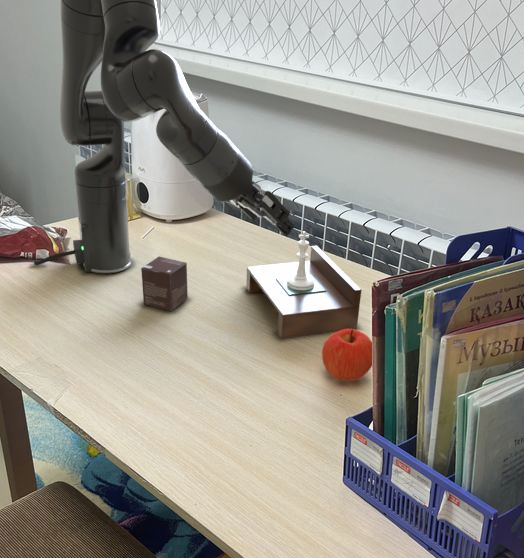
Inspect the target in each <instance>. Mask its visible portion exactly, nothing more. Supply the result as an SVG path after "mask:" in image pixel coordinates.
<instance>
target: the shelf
mask: <svg viewBox="0 0 524 558" xmlns="http://www.w3.org/2000/svg"><path fill="white" fill-rule="evenodd" d="M298 265H299V261H293V262H292V261H291V262H282V263H272V264H261V265H251V266H246V284H245V285H246V286H245V288H246V290H247V291H248V293H260V292H263V293H264V295H265V297H266V298H267V299H268V301H270V303H271V305H273V307H274V308H275V310H276V311H277V312H278V317H277V319H278V321H277V334H278V335H279V337H280V339H288V338H295V337H302V336H310V335H318V334H325V333H335V332H338V331H340V330H343V329H355V330H358V321H359V313H360V305H361V297H362V289H361V288H360V287H359V286H358V285H357V283H355V282H354V280H352V279H351V278H350V277H349V276H348V275H347V274H346V272H344V271H343V270H342V269H341V267H339V266H338V265H337V264H336V263H335V262H334V261H333V260H332V259H331V258H330V257H329V256H328V255H327V254H326V253H325V252H324V251H323V250H322V249H321V248H320V247H319V246H318V245H310V255H309V260H305V270H306V275H307V276H308V277H310V278H312V279H313V280H314V287H313V288H311V289H309V290H295V289H292V288H290V287H288V286H287V280H288V278H289V277H291V276H295V274H297V269H298Z"/></svg>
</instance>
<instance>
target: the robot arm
mask: <svg viewBox="0 0 524 558" xmlns="http://www.w3.org/2000/svg"><path fill="white" fill-rule="evenodd" d="M60 23H61V27H60V28H61V45H62V46H61V47H62V72H61V73H62V74H61V85H60V86H61V89H60V91H61V92H60V104H59V105H60V106H59V111H60V112H59V116H60V118H59V119H60V128H61V132H62V135H63V137H64V140H65V141H66V142H67V143H68V145H69V144H70V145H71V146H77V147H87V146H88V147H89V146H101V145H102V147H101V149H99V150H98V152H97V153H95V154H94V155H92V156H90V157H88V158H86V159H84V160H82V161H80V162H78V163H77V164H76V165H75V168H74V179H75V190H76V199H77V208H78V209H77V210H78V217H77V219H78V228H79V229H78V230H79V237H80V239H74V240H72V242H73V250H69V251H64V252H63V251H62V252H58V253H55V254H52V255H49V256H47V257H45V258H43V259H40V260H34V261H33V265H34V266H39V265H43V264H45V263H47V262H49V261H52V260H53V259H58V258H63V257H66V256H72V255H74V258H75V261H76V262H75V263H76V264H77V265H78V264H82V265H83V268H84V271H85V273H95V274H115V273H120V272H123V271H125V270H127V269H128V268H130V267H131V266H132V259H131V247H130V246H131V245H130V231H129V215H128V213H129V212H128V201H127V199H128V198H127V183H126V182H127V181H126V156H125V123H132V122H137V121H140V120H142V119H144V118H146V117H148V116H151V115H153V114H155V113H158V112H160V111H162V110H165V111H164V112H163V113H162V114H161V115H160V116H159V119H158V121H157V123H156V126H155V127H156V128H155V132H156V136H157V138H158V140H159V141H160V143H161V144H162V146H164V147H165V148H166V149H167V150H168V152H170V153H171V155H172V156H174V157H175V158H176V160H178V161H179V162H180V163H181V164H182V166H183V167H184V169H185V170H186V171H187V172H188V174H190V175H191V177H192V178H194V179H195V180H196V181H197V182H198V183H199V184H200V185H201V186H202V187H203V189H205V190H206V191H207V192H208V193H209V194H210V196H212V197H213V198H214V199H215V200H217V201H218V202H228V203H230V204H232V205H234V207H236V208H239V209H240V210H241V211H242V212H243V213H244V214H245V215H246V216H247V217H248V218H249V219H250V220H252V221H254V220H257V218H261V219H262V218H265V219H266V220H267V221H268V222H270V224H272V225H273V226H274V227H275V228H276V229H277V230H278V231H279V232H280V233H281V234H282V235H283V236H286V237H287V236H289V235H290V233H291V232H292V230H293V229H294V228H295V227H294V226H295V224H294V223H293V222H292V221H291V219H289V217H290V215H291V213H290V211H289V210H288V209H287V208H286V207H285V206H284V204H282V203H281V201H279V200H278V198H277V197H276V196H275V195H274V194H273V192H271V191H270V190H266V191H264V190H263V189H262V187H261V185H259V184H258V183H257V182H255V181H254V180H253V177H254V167H253V164H252V163H251V162H250V161H249V159H247V157H246V156H245V155H244V154H243V153H242V151H240V149H238V147H237V146H236V144H235V143H234V142H233V141H231V139H230V138H229V137H228V136H227V135H226V134H225V133H224V132H222V130H220V129H219V128H218V127H217V126H216V125H215V124H214V123H213V122H212V121H211V120H210V118H208V116H207V115H206V114H205V113H204V112H203V110H202V109H200V107H199V105H198V103H197V100H196V99H195V97H194V95H193V93H192V91H191V90H190V87H189V85H188V83H187V81H186V79H185V76H184V74H183V72H182V69H181V67H180V66H179V64H178V62H177V60H175V58H174V57H172V56H171V55H170V54H168V53H167V52H165V51H163V50H160V49H157V48H156V49H155V48H152V49H149V48H150V47H151V46H152V45H153V44H155V42H156V41H157V40H158V38H159V37H160V33H161V32H160V30H161V25H160V18H159V11H158V6H157V0H60ZM100 64H101V65H100ZM99 66H100V89H101V90H88V91H87V90H86V89H87V86H88V83H89V82H90V79H91V77H92V76H93V74H94V73H95V71H96V69H97V68H98V67H99Z"/></svg>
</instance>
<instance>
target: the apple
mask: <svg viewBox="0 0 524 558" xmlns="http://www.w3.org/2000/svg"><path fill="white" fill-rule="evenodd" d="M372 343H373V342H372V339H370V337H369V336H368V335H367V334H366V333H364V332H361V331H360V330H358V329H343V330H340V331H334V332H333V333H332V334H330V335H329V336H328V337H327V339H326V340H325V341H324V343H323V345H322V350H321V358H322V363H323V367H324V368H325V370H326V371H327V373H328V374H329V375H330V376H332V377H334V378H336V379H338V380H339V381H340V380H341V381H354V380H355V381H356V380H359V379H361V378H362V377H364V376H365V375H366V374H367V373H368V372H370V369H371V368H372V367H373V365H372Z"/></svg>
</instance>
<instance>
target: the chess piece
mask: <svg viewBox="0 0 524 558" xmlns="http://www.w3.org/2000/svg"><path fill="white" fill-rule="evenodd" d="M306 233H307V232H306V230H305V231H304V230H303V231H302V234H298V238H299V240H298V241H297V246H298V250H299V252H297V253H296V258H298V262H299V265H298V269H297V274H295V276H291V277H289V278H288V280H287V286H288V287H290V288H292V289H295V290H309V289H311V288H313V287H314V280H313V279H312V278H310V277H308V276H307V275H306V270H305V261H306V259H307V258H310V255H309V253H307V250H308V248H309V245H310V242H309V241H308V240H306V239H309V238H310V235H309V234H306ZM300 239H301V240H300Z"/></svg>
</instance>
